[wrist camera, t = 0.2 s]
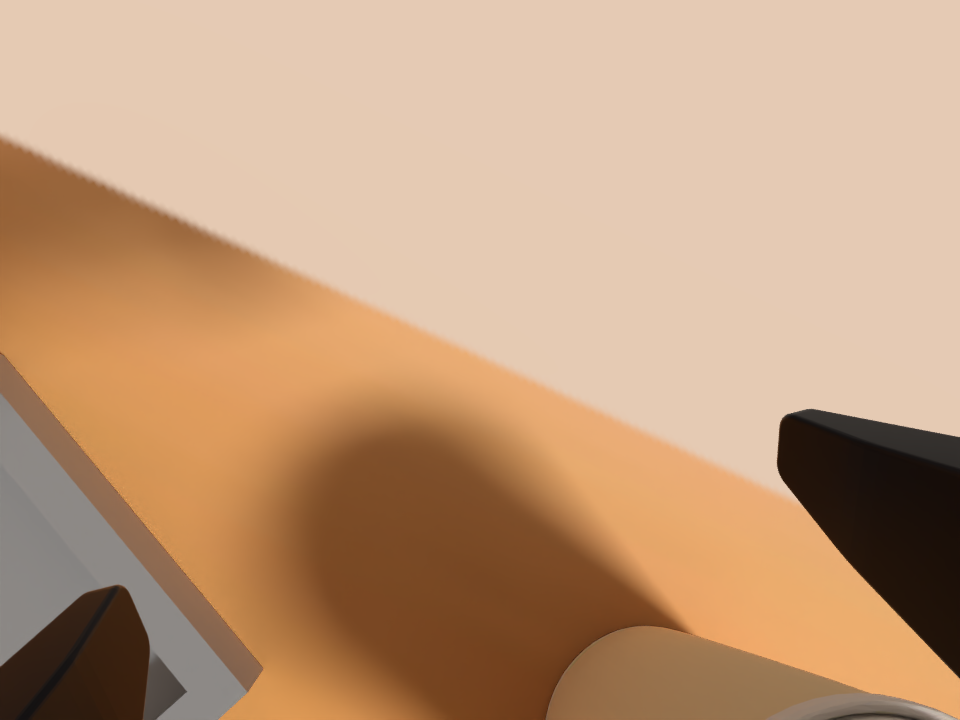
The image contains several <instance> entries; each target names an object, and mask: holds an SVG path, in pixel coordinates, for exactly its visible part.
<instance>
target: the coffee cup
mask: <svg viewBox="0 0 960 720" xmlns="http://www.w3.org/2000/svg"><path fill="white" fill-rule="evenodd" d="M545 720H958V719H957V718H955V717H952V716H950V715H948V714H946V713H943V712H941V711H939V710H937V709H934V708H931V707H928V706H925V705H922V704H919V703H915V702H912V701H908V700H905V699H901V698H896V697H891V696H885V695H880V694H871V693H868V692H865V691H862V690H859V689H856V688H854V687H851V686H848V685H845V684H842V683H839V682H837V681H834V680H831V679H828V678H825V677H822V676H819V675H816V674H813V673H810V672H807V671H804V670H801V669H797V668H794V667H791V666H788V665H785V664H782V663H779V662H776V661H773V660H770V659H767V658H764V657H761V656H758V655H755V654H752V653H748V652H745V651H742V650H739V649H736V648H733V647H730V646H726V645H723V644H720V643H717V642H714V641H711V640H708V639H704V638H701V637H698V636H695V635H692V634H688V633H684V632H680V631H677V630H673V629H669V628H665V627H656V626H635V627H629V628H625V629H621V630H617V631H615V632H612V633H610V634H607V635H606V636H604V637H602V638H600V639H598V640H597V641H595V642H593V643H592V644H591V645H590V646H588V647H587V648H586V649H584V650H583V651H582V652H581V653H580V654H579V655H578V656H577V657H576V658H575V659H574V660H573V662H572V663H571V664H570V665H569V667H568V668H567V669H566V670H565V672H564V673H563V675H562V677H561V679H560V680H559V682H558V684H557V686H556V687H555V690H554V693H553V695H552V698H551V700H550V703H549V707H548V711H547V715H546V719H545Z"/></svg>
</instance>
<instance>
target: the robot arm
mask: <svg viewBox="0 0 960 720" xmlns="http://www.w3.org/2000/svg"><path fill="white" fill-rule="evenodd" d="M777 467H778V471H779V474H780V476H781V478H782V480H783V481H784V482H785V484H786V485H787V486H788V488H789V489H790V490H791V491H792V493H793V494H794V495H795V496H796V498H797V499H798V500H799V501H800V503H801V504H802V505H803V506H804V508H805V509H806V510H807V511H808V513H809V514H810V515H811V516H812V518H813V519H814V520H815V521H816V523H817V524H818V525H819V527H820V528H821V529H822V530H823V532H824V533H825V534H826V535H827V537H828V538H829V539H830V540H831V542H832V543H833V544H834V545H835V547H836V548H837V549H838V550H839V551H840V553H841V554H842V555H843V556H844V557H845V559H846V560H847V561H848V562H849V563H850V564H851V565H852V567H853V568H854V569H855V570H856V571H857V572H858V573H859V574H860V575H861V576H862V577H863V578H864V579H865V581H866V582H867V583H868V584H869V585H870V586H871V587H872V588H873V589H874V590H875V591H876V592H877V593H878V594H879V595H880V596H881V597H882V598H883V599H884V600H885V601H886V602H887V603H888V604H889V605H890V607H891V608H892V609H893V610H894V611H895V612H896V613H897V614H898V615H899V616H900V617H901V618H902V619H903V620H904V621H905V622H906V623H907V624H908V625H909V626H910V627H911V628H912V629H913V630H914V632H915V633H916V634H917V635H918V636H919V637H920V638H921V639H922V640H923V641H924V642H925V643H926V644H927V645H928V646H929V647H930V648H931V649H932V650H933V651H934V652H935V653H936V654H937V655H938V657H939V658H940V659H941V660H942V661H943V662H944V663H945V664H946V665H947V666H948V667H949V668H950V669H951V670H952V671H953V672H954V673H955V674H956V675H957V676H958V677H959V678H960V437H955V436H950V435H945V434H940V433H935V432H930V431H924V430H919V429H914V428H909V427H904V426H898V425H893V424H888V423H882V422H878V421H873V420H867V419H862V418H857V417H852V416H847V415H841V414H836V413H831V412H826V411H821V410H815V409H806V410H802V411H799V412H794V413H791V414H787V415H786V416H784V417H783V418H782V420H781V422H780V428H779V442H778V455H777ZM149 659H150V643H149V638H148V634H147V632H146V629H145V627H144V625H143V622H142V620H141V618H140V616H139V613H138V611H137V609H136V606H135V604H134V602H133V600H132V597H131V595H130V593H129V591H128V590H127V589H126V588H125V587H124V586H122V585H119V584H117V585H113V586H109V587H105V588H101V589H97V590H93V591H89V592H86V593H84V594H82V595H81V596H80V597H79V598H78V599H76V600H75V601H74V602H73V603H72V604H71V605H70V606H69V607H67V608H66V609H65V610H64V611H63V612H62V613H61V614H59V615H58V616H57V617H56V618H55V619H54V620H53V621H51V622H50V623H49V624H48V625H47V626H46V627H45V628H44V629H42V630H41V631H40V632H39V633H38V634H37V635H36V636H34V637H33V638H32V639H31V640H30V641H29V642H28V643H26V644H25V645H24V646H23V647H22V648H21V649H20V650H19V651H17V652H16V653H15V654H14V655H13V656H12V657H11V658H9V659H8V660H7V661H6V662H5V663H4V664H3V665H1V666H0V720H143V716H144V707H145V697H146V688H147V678H148V669H149Z"/></svg>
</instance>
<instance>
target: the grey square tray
mask: <svg viewBox="0 0 960 720" xmlns="http://www.w3.org/2000/svg"><path fill="white" fill-rule="evenodd" d="M117 584H119V585H122V586H124V587H125V588H126V589H127V590H128V591H129V593H130V595H131V597H132V600H133V602H134V604H135V606H136V609H137V611H138V613H139V616H140V618H141V620H142V622H143V625H144V627H145V629H146V632H147V634H148V638H149V643H150V659H149V669H148V678H147V688H146V697H145V707H144V716H143V720H218V719H219V718H220V717H221V716H222V715H224V714H225V713H226V712H227V711H228V710H229V709H230V708H231V707H232V706H233V705H234V704H236V703H237V702H238V701H239V700H240V699H241V698H242V697H243V696H244V695H245V694H246V693H247V692H248V691H249V690H250V688H251V687H252V685H253V684H254V682H255V681H256V679H257V678H258V676H259V675H260V673H261V672H262V670H263V668H262V666H261V665H260V664H259V663H258V661H257V660H256V659H255V658H254V657H253V655H252V654H251V653H250V652H249V651H248V649H247V648H246V647H245V646H244V645H243V643H242V642H241V641H240V640H239V639H238V637H237V636H236V635H235V634H234V633H233V631H232V630H231V629H230V628H229V626H228V625H227V624H226V623H225V622H224V620H223V619H222V618H221V617H220V616H219V614H218V613H217V612H216V611H215V610H214V608H213V607H212V606H211V605H210V604H209V602H208V601H207V600H206V599H205V598H204V596H203V595H202V594H201V593H200V592H199V590H198V589H197V588H196V587H195V585H194V584H193V583H192V582H191V581H190V579H189V578H188V577H187V576H186V575H185V573H184V572H183V571H182V570H181V569H180V567H179V566H178V565H177V564H176V563H175V561H174V560H173V559H172V558H171V557H170V555H169V554H168V553H167V552H166V550H165V549H164V548H163V547H162V546H161V544H160V543H159V542H158V541H157V540H156V538H155V537H154V536H153V535H152V534H151V532H150V531H149V530H148V529H147V528H146V526H145V525H144V524H143V523H142V522H141V520H140V519H139V518H138V517H137V515H136V514H135V513H134V512H133V511H132V509H131V508H130V507H129V506H128V505H127V503H126V502H125V501H124V500H123V499H122V497H121V496H120V495H119V494H118V493H117V491H116V490H115V489H114V488H113V487H112V485H111V484H110V483H109V482H108V480H107V479H106V478H105V477H104V476H103V474H102V473H101V472H100V471H99V470H98V468H97V467H96V466H95V465H94V464H93V462H92V461H91V460H90V459H89V458H88V456H87V455H86V454H85V453H84V452H83V450H82V449H81V448H80V447H79V445H78V444H77V443H76V442H75V441H74V439H73V438H72V437H71V436H70V435H69V433H68V432H67V431H66V430H65V429H64V427H63V426H62V425H61V424H60V423H59V421H58V420H57V419H56V418H55V417H54V415H53V414H52V413H51V412H50V411H49V409H48V408H47V407H46V406H45V404H44V403H43V402H42V401H41V400H40V398H39V397H38V396H37V395H36V394H35V392H34V391H33V390H32V389H31V388H30V386H29V385H28V384H27V383H26V382H25V380H24V379H23V378H22V377H21V376H20V374H19V373H18V372H17V371H16V369H15V368H14V367H13V366H12V365H11V363H10V362H9V361H8V360H7V359H6V357H5V356H4V355H2V354H0V666H1V665H3V664H4V663H5V662H6V661H7V660H8V659H9V658H11V657H12V656H13V655H14V654H15V653H16V652H17V651H19V650H20V649H21V648H22V647H23V646H24V645H25V644H26V643H28V642H29V641H30V640H31V639H32V638H33V637H34V636H36V635H37V634H38V633H39V632H40V631H41V630H42V629H44V628H45V627H46V626H47V625H48V624H49V623H50V622H51V621H53V620H54V619H55V618H56V617H57V616H58V615H59V614H61V613H62V612H63V611H64V610H65V609H66V608H67V607H69V606H70V605H71V604H72V603H73V602H74V601H75V600H76V599H78V598H79V597H80V596H81V595H82V594H84V593H86V592H89V591H93V590H97V589H101V588H105V587H109V586H113V585H117Z"/></svg>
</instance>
